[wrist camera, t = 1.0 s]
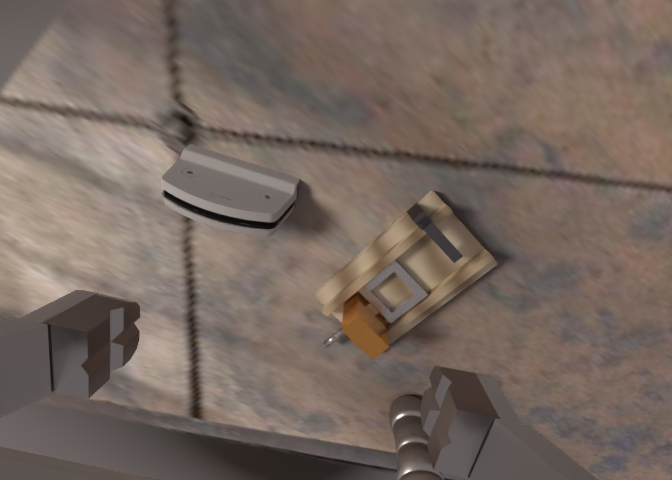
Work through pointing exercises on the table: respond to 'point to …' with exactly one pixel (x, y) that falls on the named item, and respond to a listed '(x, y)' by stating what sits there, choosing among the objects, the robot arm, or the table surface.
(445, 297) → the guide board
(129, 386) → the table surface
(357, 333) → the chain end link
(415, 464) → the plastic bottle
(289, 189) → the grey rounded slab
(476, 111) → the table surface
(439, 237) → the keeper hook
